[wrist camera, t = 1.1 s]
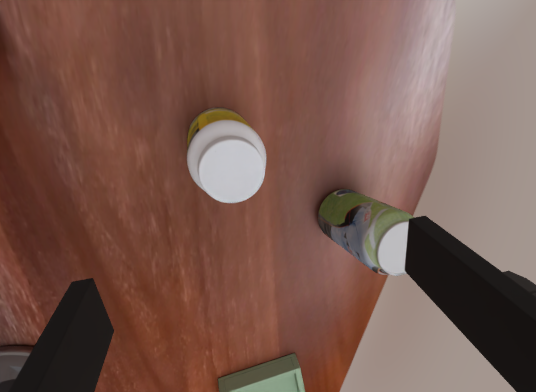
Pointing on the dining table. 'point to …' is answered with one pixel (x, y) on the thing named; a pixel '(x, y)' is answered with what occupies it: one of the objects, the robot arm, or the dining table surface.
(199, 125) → the pill bottle
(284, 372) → the sage tray
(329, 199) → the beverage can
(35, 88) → the dining table surface
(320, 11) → the dining table surface
